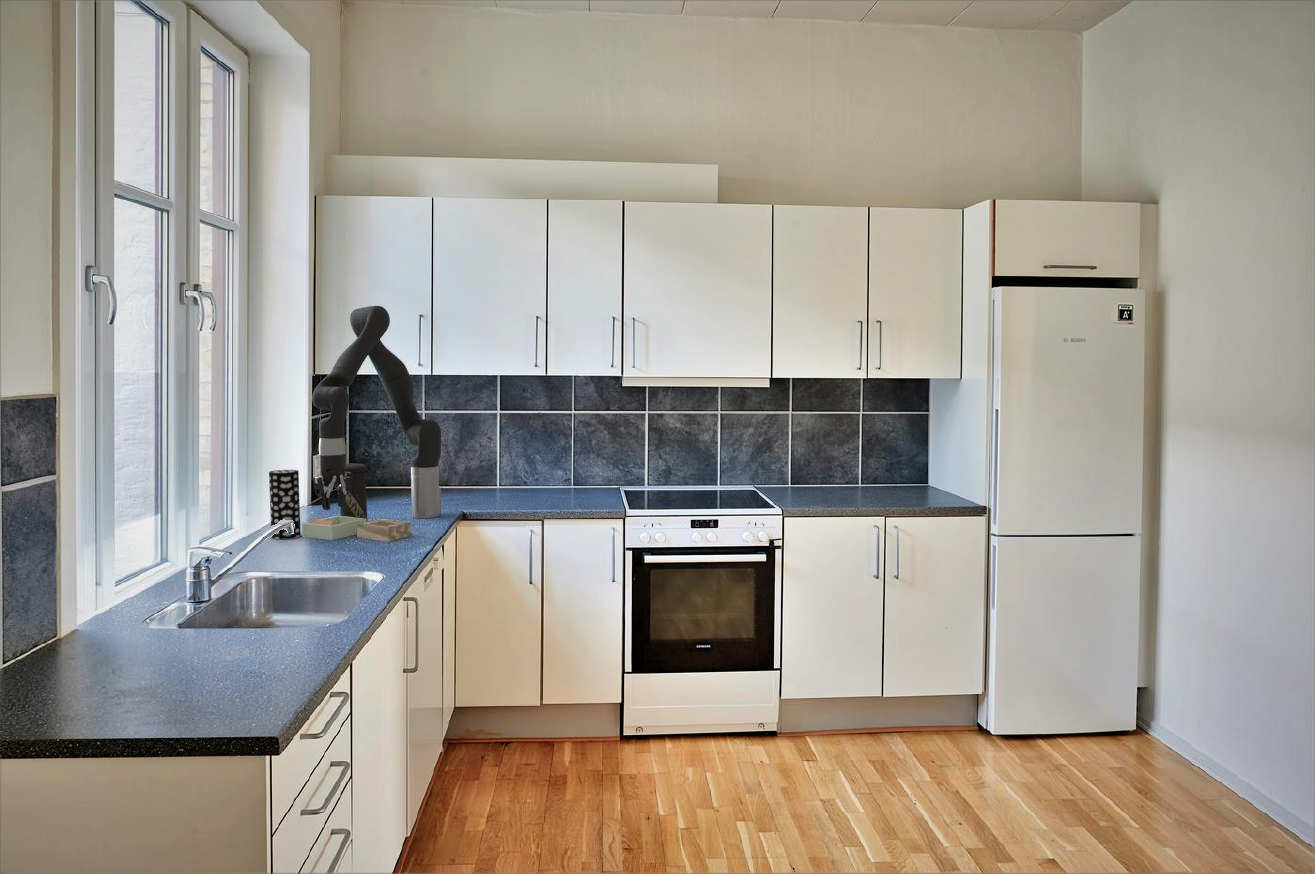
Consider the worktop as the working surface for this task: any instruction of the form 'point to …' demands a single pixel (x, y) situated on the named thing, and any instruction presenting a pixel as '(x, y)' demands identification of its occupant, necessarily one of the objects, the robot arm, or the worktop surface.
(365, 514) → the container
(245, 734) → the worktop surface
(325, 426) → the robot arm
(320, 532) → the bin
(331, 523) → the salmon orange block
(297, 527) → the spotted tube
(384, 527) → the brown hollow flat block
